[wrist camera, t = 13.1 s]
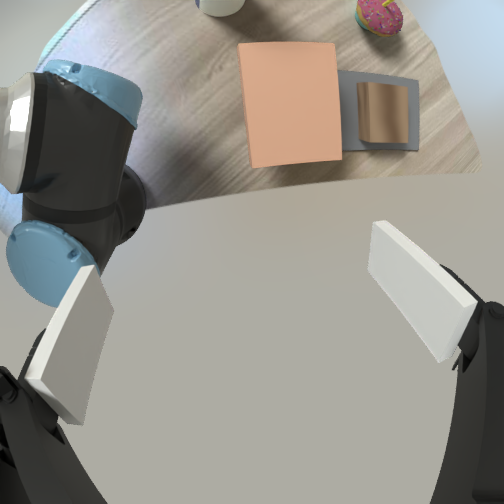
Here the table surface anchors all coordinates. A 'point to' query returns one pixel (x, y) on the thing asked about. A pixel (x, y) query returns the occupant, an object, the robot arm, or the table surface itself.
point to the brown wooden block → (382, 112)
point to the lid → (290, 102)
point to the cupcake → (379, 17)
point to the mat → (350, 110)
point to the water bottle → (219, 7)
